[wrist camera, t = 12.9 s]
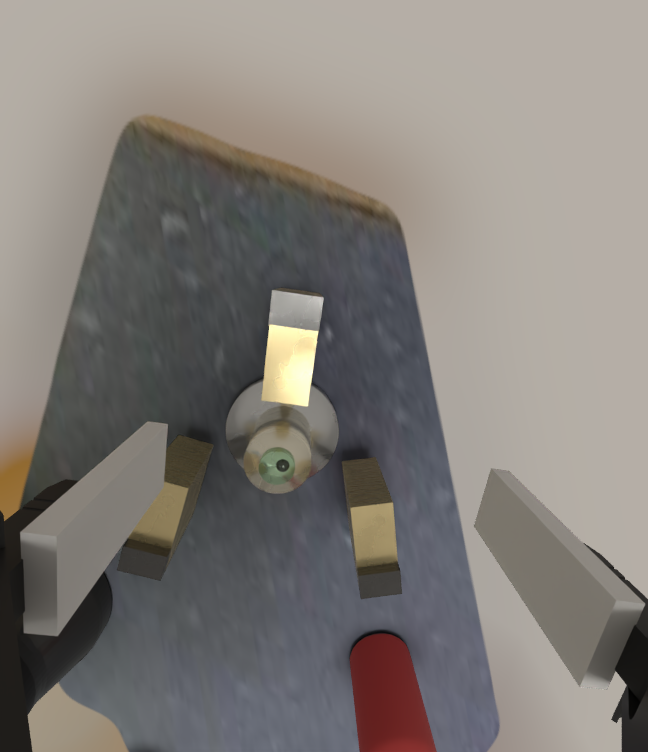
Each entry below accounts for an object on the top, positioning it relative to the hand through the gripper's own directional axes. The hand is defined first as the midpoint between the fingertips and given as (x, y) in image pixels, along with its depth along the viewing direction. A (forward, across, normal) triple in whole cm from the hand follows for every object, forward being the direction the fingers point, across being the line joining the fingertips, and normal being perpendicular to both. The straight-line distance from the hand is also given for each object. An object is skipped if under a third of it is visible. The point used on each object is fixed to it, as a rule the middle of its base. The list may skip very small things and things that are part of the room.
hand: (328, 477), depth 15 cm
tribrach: (+19, -2, -4) cm, 19 cm away
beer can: (+19, +12, -31) cm, 38 cm away
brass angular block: (+17, -2, +3) cm, 17 cm away
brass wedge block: (+17, +6, -10) cm, 20 cm away
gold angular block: (+16, -10, -11) cm, 22 cm away
